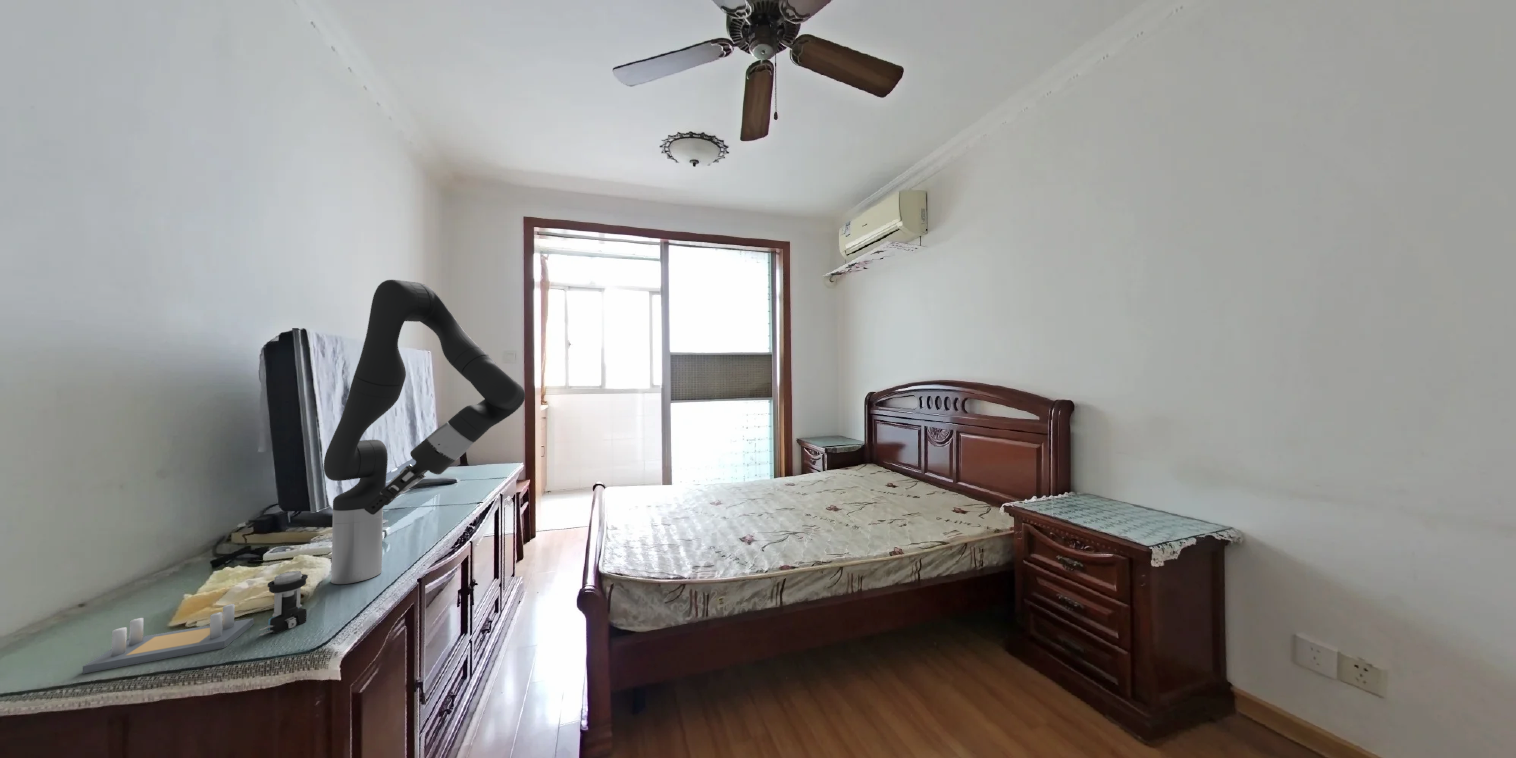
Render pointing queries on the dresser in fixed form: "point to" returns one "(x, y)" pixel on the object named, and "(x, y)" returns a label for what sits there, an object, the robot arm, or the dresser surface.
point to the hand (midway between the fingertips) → (375, 507)
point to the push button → (286, 602)
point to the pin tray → (168, 641)
